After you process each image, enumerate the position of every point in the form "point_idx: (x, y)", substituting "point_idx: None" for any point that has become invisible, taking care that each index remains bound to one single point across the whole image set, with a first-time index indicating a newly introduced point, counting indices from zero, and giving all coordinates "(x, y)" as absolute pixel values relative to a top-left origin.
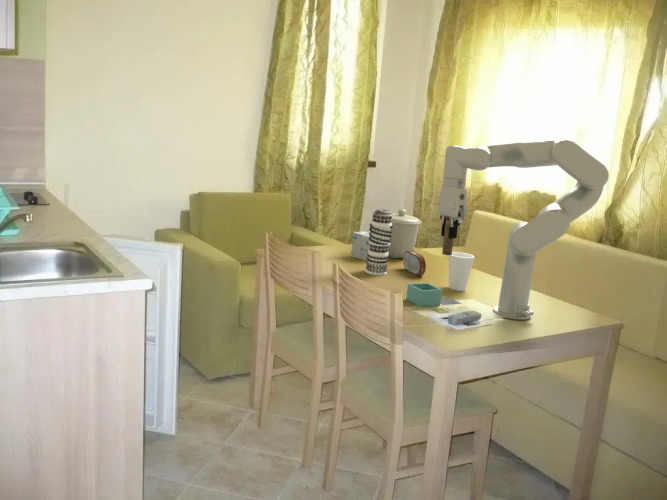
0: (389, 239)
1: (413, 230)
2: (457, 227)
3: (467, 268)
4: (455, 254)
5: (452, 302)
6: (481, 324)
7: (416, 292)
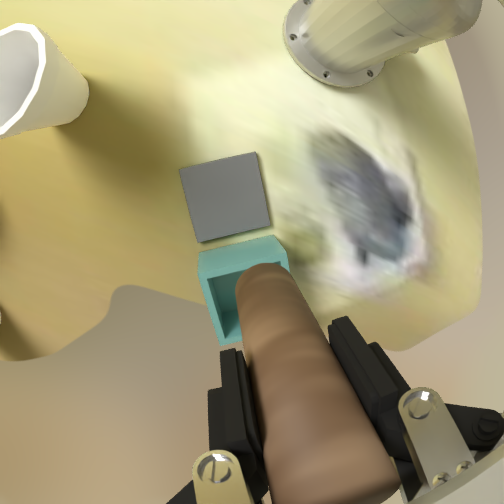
0: None
1: None
2: (394, 385)
3: (63, 62)
4: None
5: (244, 180)
6: (408, 179)
7: None
